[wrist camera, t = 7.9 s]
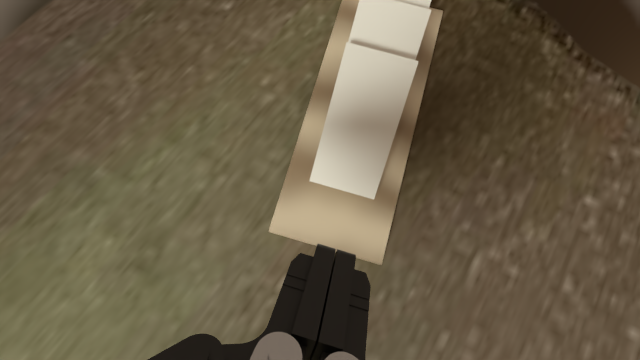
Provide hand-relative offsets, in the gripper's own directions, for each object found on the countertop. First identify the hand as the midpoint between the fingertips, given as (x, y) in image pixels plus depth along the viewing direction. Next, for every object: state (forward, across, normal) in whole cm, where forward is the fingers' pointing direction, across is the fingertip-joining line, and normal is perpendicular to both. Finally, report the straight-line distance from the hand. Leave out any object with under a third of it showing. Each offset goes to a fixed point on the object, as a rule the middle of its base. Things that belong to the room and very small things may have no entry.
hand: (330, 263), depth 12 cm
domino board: (+17, 0, +1) cm, 17 cm away
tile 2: (+14, 0, +2) cm, 14 cm away
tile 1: (+11, 0, +4) cm, 12 cm away
